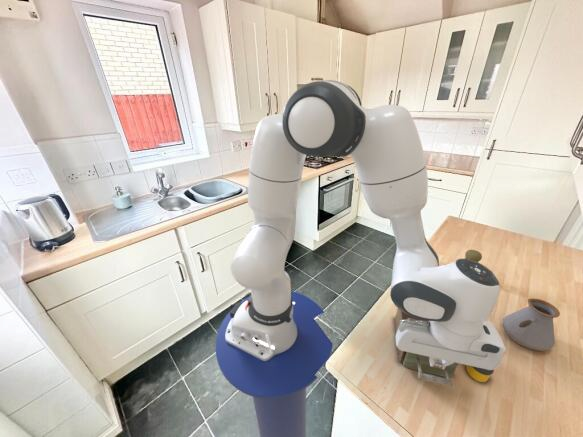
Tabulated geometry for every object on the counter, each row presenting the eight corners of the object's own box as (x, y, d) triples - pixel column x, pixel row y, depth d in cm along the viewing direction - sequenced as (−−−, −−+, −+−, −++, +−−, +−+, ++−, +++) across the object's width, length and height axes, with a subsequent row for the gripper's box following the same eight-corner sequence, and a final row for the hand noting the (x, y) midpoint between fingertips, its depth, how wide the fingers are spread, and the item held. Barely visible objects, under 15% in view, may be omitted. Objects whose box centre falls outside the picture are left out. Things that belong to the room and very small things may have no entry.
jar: (469, 379, 62) (474, 371, 61) (463, 361, 67) (467, 352, 65) (491, 384, 61) (497, 376, 59) (483, 365, 65) (489, 357, 64)
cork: (456, 267, 100) (464, 245, 95) (473, 271, 98) (483, 249, 93) (457, 276, 96) (466, 254, 90) (475, 281, 93) (486, 258, 88)
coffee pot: (510, 315, 79) (531, 281, 72) (557, 343, 70) (585, 307, 63) (473, 345, 71) (492, 309, 63) (521, 382, 62) (550, 345, 54)
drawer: (456, 398, 58) (466, 382, 55) (405, 385, 61) (411, 369, 58) (438, 333, 73) (444, 317, 70) (398, 324, 76) (402, 309, 73)
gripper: (402, 329, 52) (391, 367, 58) (516, 352, 47) (490, 390, 53) (399, 306, 57) (389, 343, 64) (500, 324, 52) (479, 362, 59)
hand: (436, 365), depth 58 cm, fingers closed
